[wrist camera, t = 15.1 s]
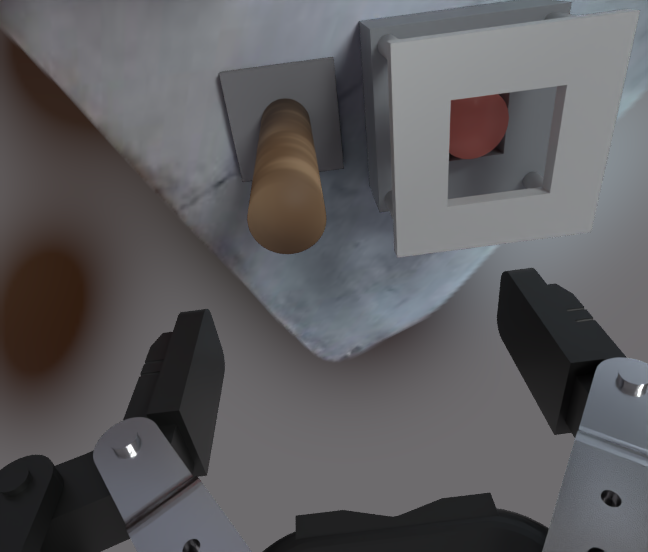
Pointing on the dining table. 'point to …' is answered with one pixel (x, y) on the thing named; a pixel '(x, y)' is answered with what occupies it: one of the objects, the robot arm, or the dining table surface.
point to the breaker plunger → (477, 125)
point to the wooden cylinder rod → (286, 182)
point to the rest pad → (277, 83)
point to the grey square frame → (523, 127)
